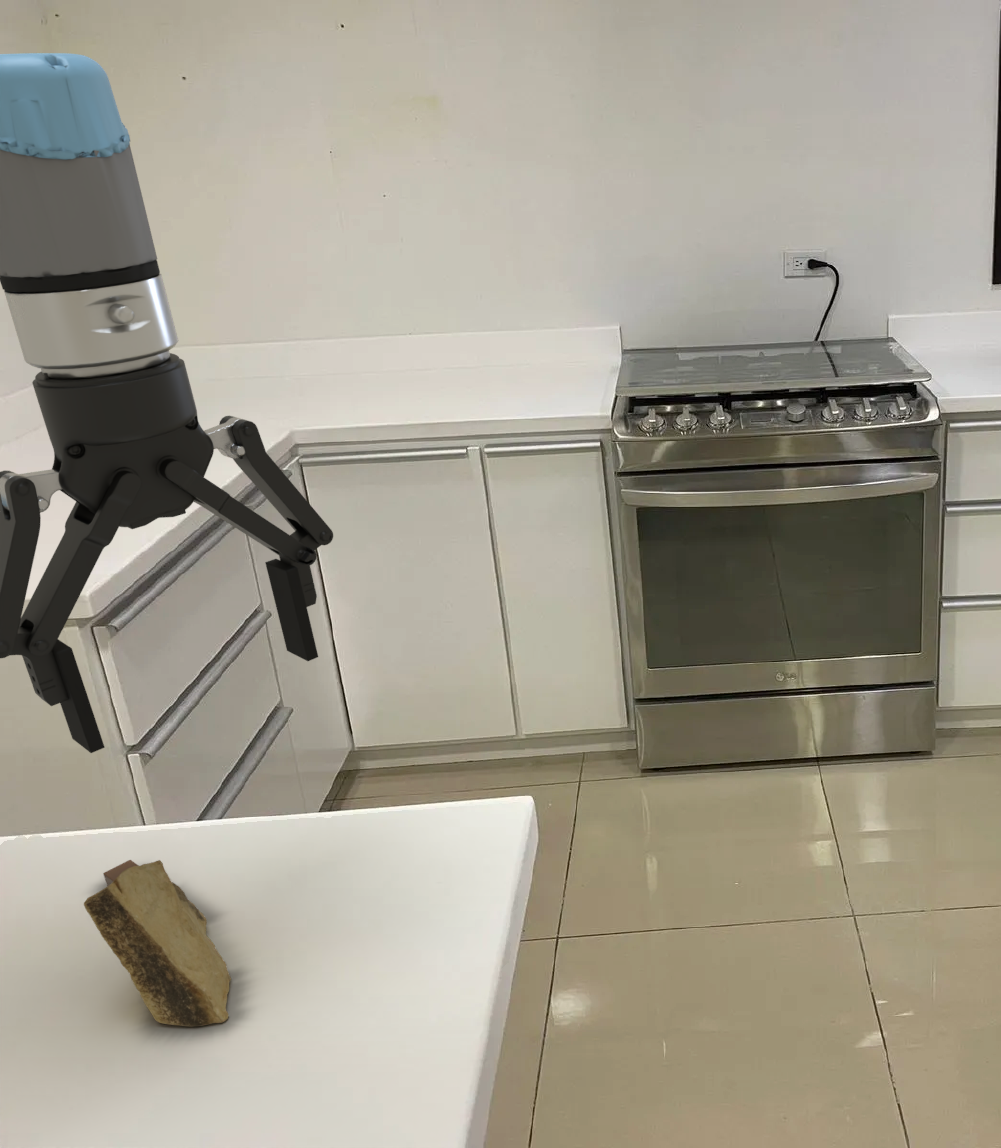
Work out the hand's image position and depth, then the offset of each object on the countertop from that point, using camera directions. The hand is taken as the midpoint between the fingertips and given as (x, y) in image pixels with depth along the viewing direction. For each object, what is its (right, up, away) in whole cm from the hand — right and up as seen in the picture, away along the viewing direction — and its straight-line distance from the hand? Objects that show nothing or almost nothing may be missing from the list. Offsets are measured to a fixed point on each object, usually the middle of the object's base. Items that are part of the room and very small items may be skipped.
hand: (202, 696), depth 70 cm
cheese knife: (-9, -16, +10) cm, 21 cm away
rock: (-2, -19, +3) cm, 19 cm away
